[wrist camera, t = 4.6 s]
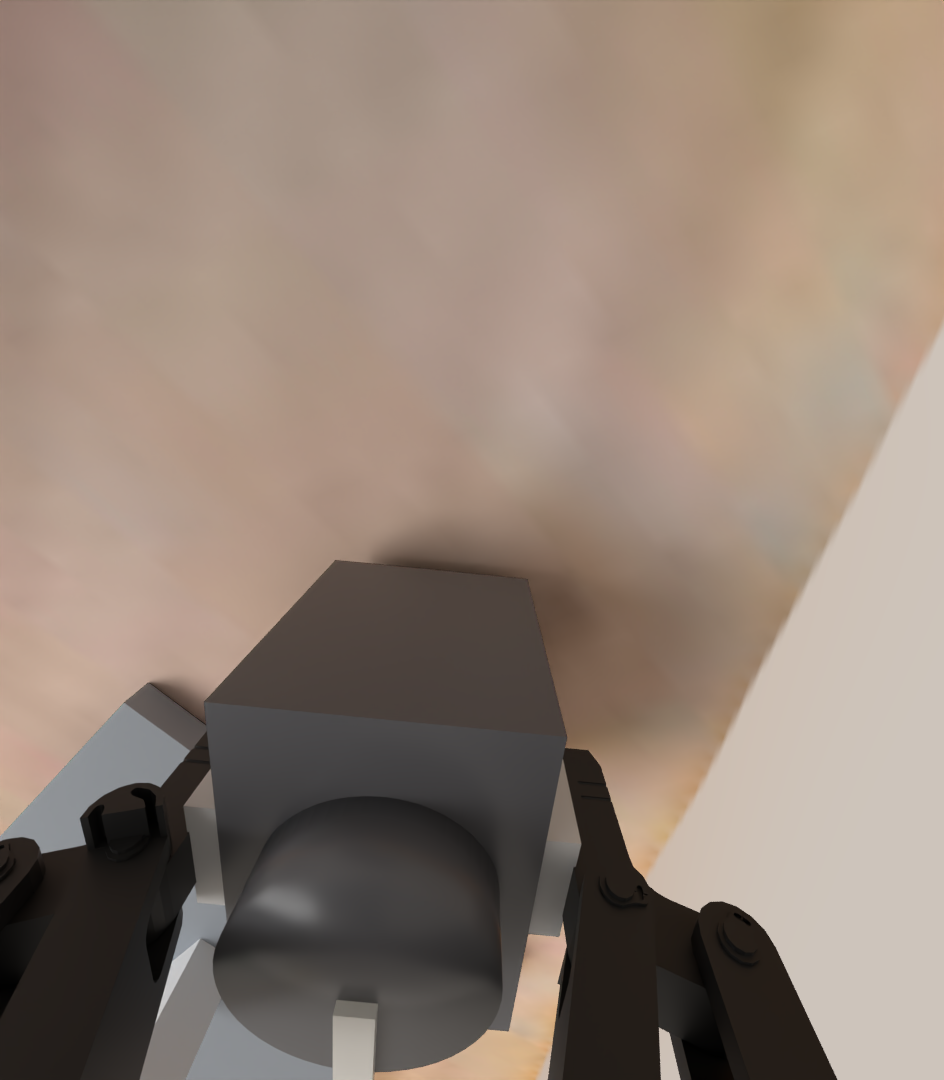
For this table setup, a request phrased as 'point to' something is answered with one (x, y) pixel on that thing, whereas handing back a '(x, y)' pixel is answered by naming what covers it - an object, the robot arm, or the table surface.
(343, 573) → the knob
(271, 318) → the table surface
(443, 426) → the table surface
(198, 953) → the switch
